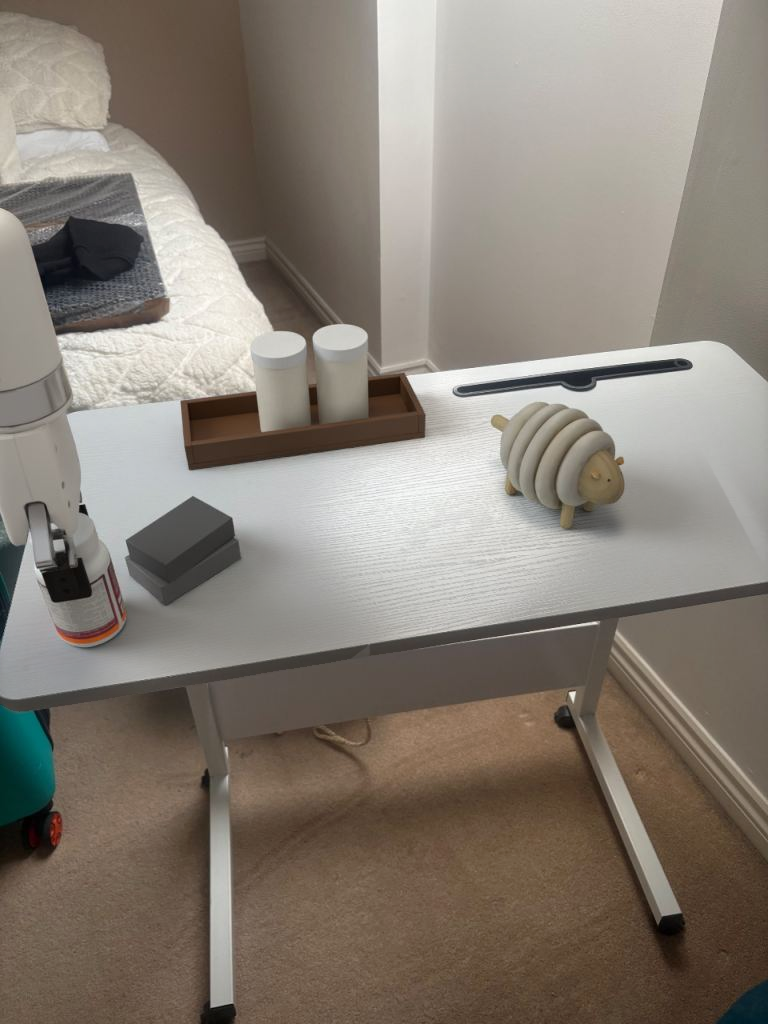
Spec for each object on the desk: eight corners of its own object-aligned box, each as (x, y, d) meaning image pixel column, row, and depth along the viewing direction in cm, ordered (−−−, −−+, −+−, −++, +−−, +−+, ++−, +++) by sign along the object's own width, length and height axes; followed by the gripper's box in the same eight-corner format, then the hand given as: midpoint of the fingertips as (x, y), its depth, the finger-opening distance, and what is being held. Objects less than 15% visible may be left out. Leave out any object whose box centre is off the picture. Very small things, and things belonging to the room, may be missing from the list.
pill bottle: (84, 593, 78) (53, 500, 71) (140, 609, 77) (115, 515, 70) (43, 640, 74) (6, 545, 67) (102, 657, 72) (71, 562, 65)
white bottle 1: (270, 447, 96) (261, 362, 88) (252, 420, 100) (242, 338, 93) (320, 433, 98) (314, 349, 91) (300, 408, 102) (293, 326, 95)
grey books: (166, 607, 77) (157, 569, 74) (128, 574, 80) (117, 537, 77) (243, 558, 82) (238, 521, 79) (204, 529, 86) (197, 492, 83)
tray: (188, 470, 93) (184, 446, 91) (184, 423, 101) (180, 400, 99) (424, 437, 98) (425, 413, 96) (404, 395, 106) (404, 372, 104)
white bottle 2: (330, 438, 97) (325, 354, 90) (310, 413, 101) (304, 330, 94) (378, 425, 99) (377, 342, 92) (356, 400, 103) (353, 319, 96)
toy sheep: (584, 559, 82) (603, 469, 75) (454, 486, 91) (459, 400, 84) (640, 510, 88) (663, 422, 81) (512, 446, 97) (522, 362, 90)
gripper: (-25, 338, 65) (37, 513, 77) (-63, 464, 52) (18, 652, 64) (74, 327, 67) (120, 501, 78) (61, 448, 54) (119, 635, 65)
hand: (74, 568), depth 71 cm, fingers closed on pill bottle, 6 cm apart
